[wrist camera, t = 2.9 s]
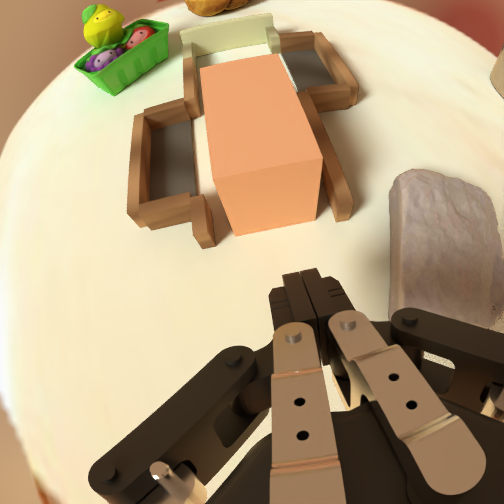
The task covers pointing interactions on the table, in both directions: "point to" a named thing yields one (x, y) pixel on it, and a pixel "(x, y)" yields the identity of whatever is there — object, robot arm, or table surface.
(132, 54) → the fruit basket
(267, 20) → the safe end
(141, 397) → the table surface
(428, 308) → the stone block
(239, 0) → the bread roll
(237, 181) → the terracotta brick
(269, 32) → the box
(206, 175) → the table surface
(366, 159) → the table surface
